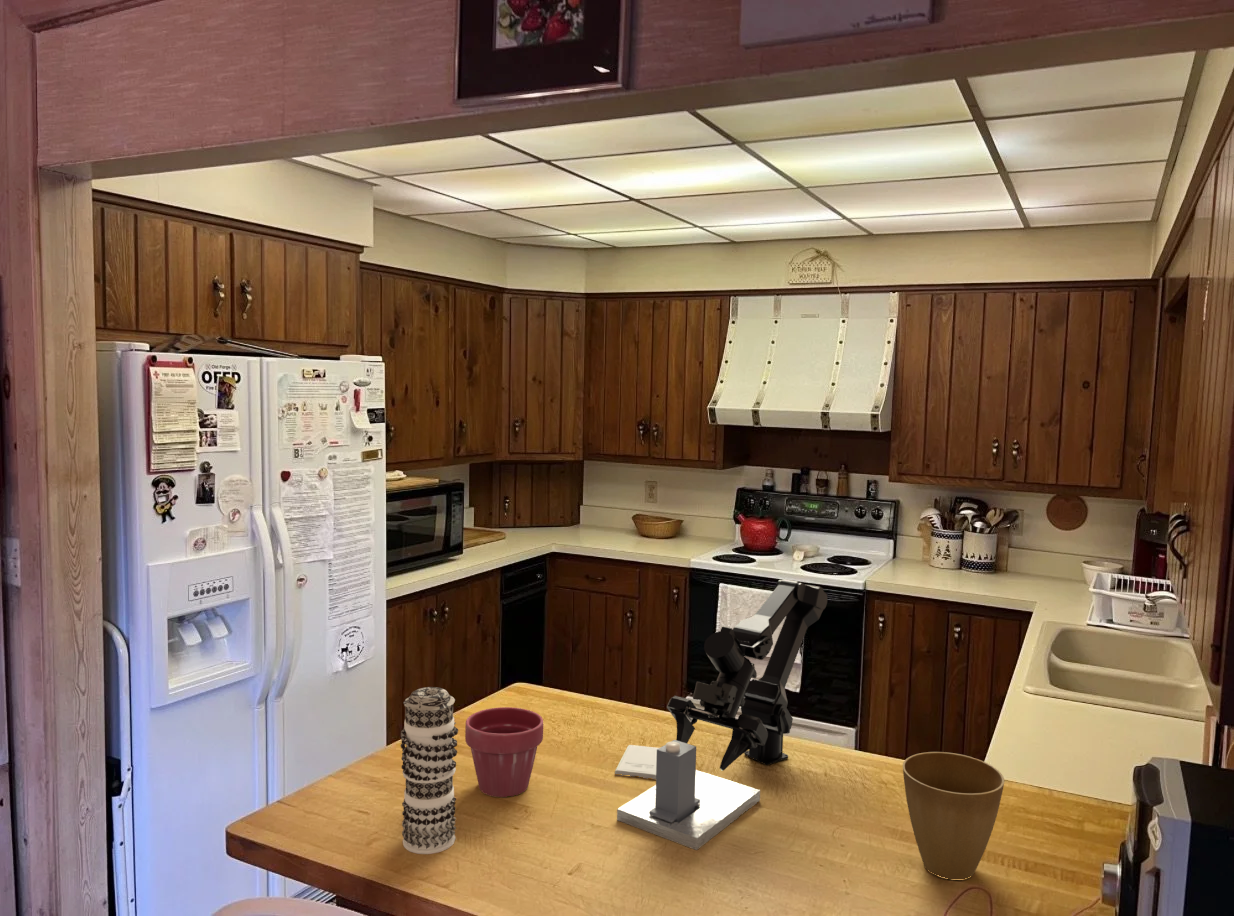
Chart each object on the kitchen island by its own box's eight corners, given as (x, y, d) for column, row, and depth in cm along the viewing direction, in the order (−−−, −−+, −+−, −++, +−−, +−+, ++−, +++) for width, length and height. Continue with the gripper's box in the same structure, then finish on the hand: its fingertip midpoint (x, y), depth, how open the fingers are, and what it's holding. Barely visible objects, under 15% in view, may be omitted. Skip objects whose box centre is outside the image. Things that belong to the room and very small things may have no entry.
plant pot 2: (905, 836, 153) (910, 744, 152) (1001, 858, 147) (1007, 762, 145) (890, 879, 140) (895, 779, 138) (995, 906, 133) (1001, 801, 132)
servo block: (678, 807, 162) (680, 731, 161) (699, 814, 159) (701, 737, 158) (648, 826, 155) (650, 747, 154) (671, 835, 152) (673, 754, 151)
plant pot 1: (533, 766, 178) (533, 702, 177) (550, 798, 164) (551, 729, 163) (459, 775, 173) (459, 709, 172) (471, 808, 160) (472, 738, 159)
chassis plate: (684, 776, 175) (685, 766, 174) (759, 800, 165) (760, 790, 165) (616, 820, 157) (617, 808, 157) (696, 850, 147) (696, 838, 147)
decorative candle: (457, 825, 154) (458, 681, 152) (457, 853, 145) (458, 700, 143) (402, 828, 153) (402, 683, 150) (398, 857, 143) (398, 703, 141)
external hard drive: (667, 756, 185) (656, 782, 173) (627, 752, 187) (614, 777, 175) (667, 748, 185) (656, 774, 173) (628, 744, 187) (614, 769, 175)
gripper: (673, 653, 171) (638, 728, 163) (762, 674, 160) (729, 755, 152) (694, 683, 178) (661, 756, 170) (781, 705, 167) (750, 784, 159)
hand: (698, 762), depth 162 cm, fingers open, 9 cm apart
